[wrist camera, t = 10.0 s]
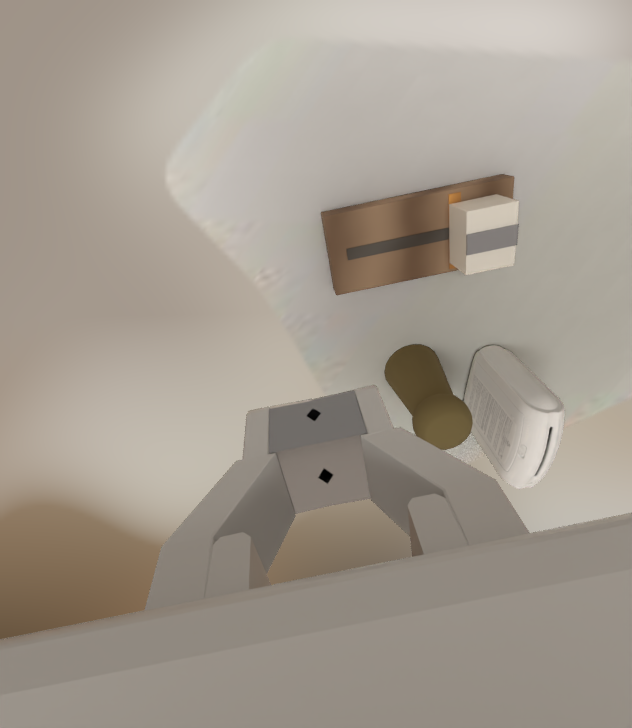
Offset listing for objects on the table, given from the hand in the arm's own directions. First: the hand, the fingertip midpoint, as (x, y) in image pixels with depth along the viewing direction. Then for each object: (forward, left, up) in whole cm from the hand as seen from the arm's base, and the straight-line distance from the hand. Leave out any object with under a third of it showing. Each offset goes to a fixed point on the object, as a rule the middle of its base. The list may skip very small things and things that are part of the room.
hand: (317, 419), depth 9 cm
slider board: (-11, +5, -29) cm, 31 cm away
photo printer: (-18, +23, -29) cm, 41 cm away
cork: (-10, +19, -29) cm, 36 cm away
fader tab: (-15, +5, -27) cm, 31 cm away
